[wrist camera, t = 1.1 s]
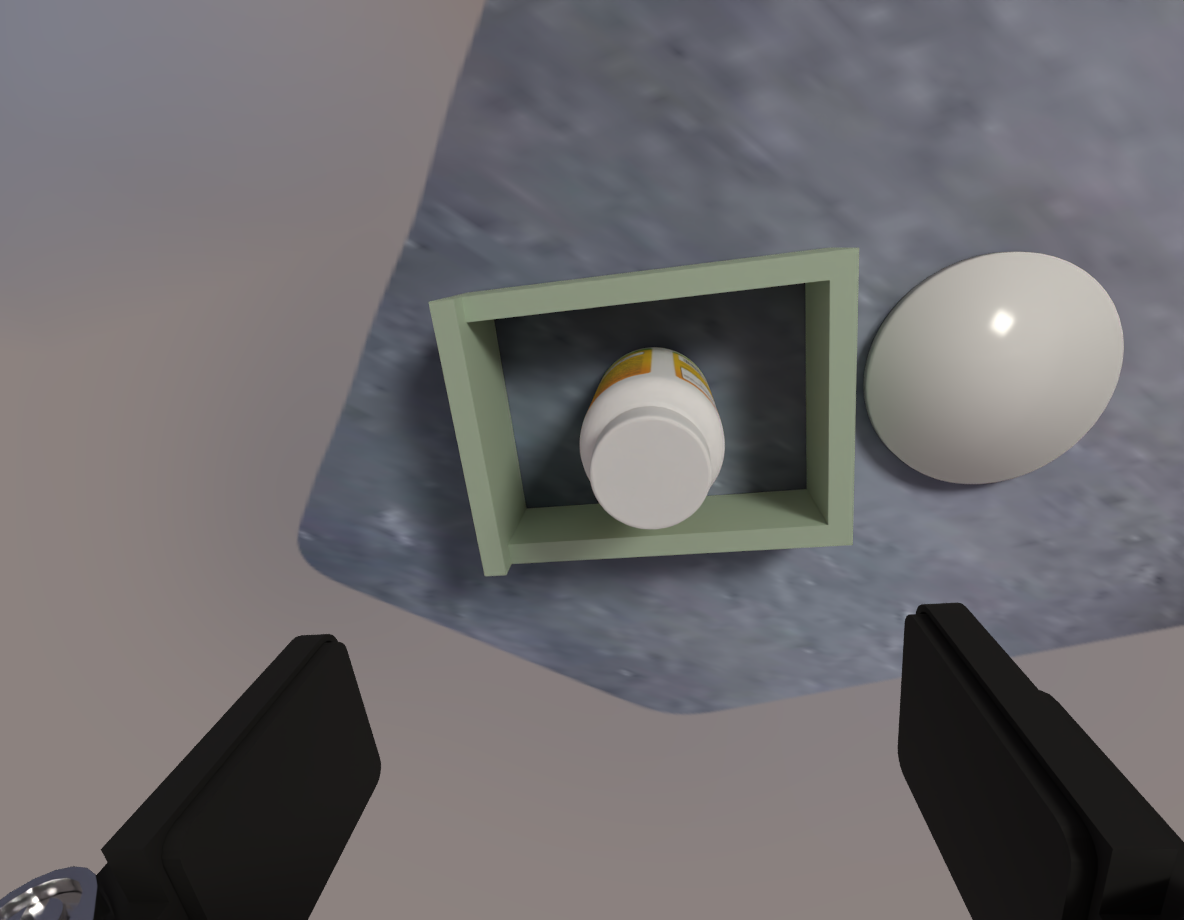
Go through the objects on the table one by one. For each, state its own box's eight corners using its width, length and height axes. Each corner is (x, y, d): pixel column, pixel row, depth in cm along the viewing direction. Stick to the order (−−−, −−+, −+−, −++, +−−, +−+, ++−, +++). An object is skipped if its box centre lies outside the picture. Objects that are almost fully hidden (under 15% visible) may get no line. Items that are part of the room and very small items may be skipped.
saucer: (1128, 236, 24) (1143, 236, 23) (1091, 469, 27) (1103, 475, 26) (866, 267, 25) (872, 268, 25) (860, 485, 29) (866, 491, 28)
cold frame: (829, 247, 25) (868, 247, 21) (828, 506, 29) (860, 556, 24) (468, 292, 28) (428, 302, 23) (511, 527, 31) (484, 576, 27)
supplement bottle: (589, 446, 29) (557, 535, 20) (605, 336, 28) (578, 381, 18) (697, 464, 29) (714, 563, 20) (721, 355, 27) (752, 410, 18)
